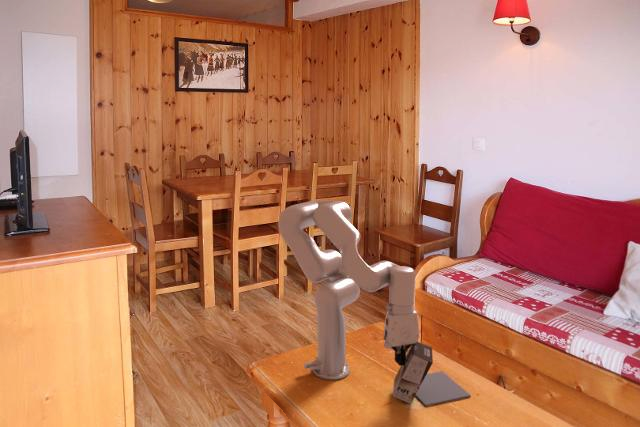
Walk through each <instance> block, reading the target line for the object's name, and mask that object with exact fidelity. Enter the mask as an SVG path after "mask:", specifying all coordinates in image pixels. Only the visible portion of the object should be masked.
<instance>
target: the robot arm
mask: <svg viewBox="0 0 640 427" xmlns="http://www.w3.org/2000/svg"><path fill="white" fill-rule="evenodd" d="M278 216H279V218H278V223H277V224H278V231H279V234H280V237H281V238H282V239H283V242H285V244H286V246H288V248H289V249H290V251H291V253H292V254H293V256H294V258H295V260H296V262H297V264H298V265H299V267H300V268H301V271H302V272H303V274H304V276H305V278H306V279H307V280H308V282H310V283H313V284H315V283H316V284H317V283H320V282H323V281H326V280H328V279H329V280H330V281H328V282H326V283H324V284H323V285H321V286H320V287H319V288H317V290H316V292H315V294H314V303H315V308H316V316H317V319H316V320H317V356H316V357H314V360H312V361H309V362H304V363H303V368H304V369H309V370H310V371H311V372H312V371H313V374H314V375H315V376H317V377H318V378H321V379H324V380H335V381H336V380H340V379H344V378H346V377H347V376H348V375H349V374H350V372H351V367H350V365H349V364H348V363H347V362H346V348H347V346H346V345H347V344H346V343H347V342H346V341H347V340H346V338H347V329H346V328H347V322H346V317H345V314H344V313H343V308H345V307H347V306H348V305H350V304H352V303H354V302H355V301H357V299H359V296H360V293H361V290H360V289H362V290H363V291H365V292H367V293H368V292H369V293H374V292H376V291H378V290H381V289H383V288H385V287H388V286H389V292H388V293H389V294H388V295H389V296H388V297H389V298H388V300H389V301H388V304H387V305H385V311H387V312H386V315H385V321H384V327H383V341H384V343H383V344H384V345H383V346H384V348H385V349H387V350H393V351H394V362H395V363H396V364H397V365H398V366H400V367H401V366H402V365H405V361H406V355H407V352H408V350H409V348H410V346H411V345H413V344H414V343H417V342H419V340H420V326H419V318H418V312H417V310H415V298H416V296H415V295H416V271H415V270H414V269H413V268H412V267H410V266H405V265H401V266H400V265H398V264H396V263H393V262H391V261H389V260H380V261H379V262H376V263H374V264H371V265H368V264H367V263H366V261H364V259H363V258H362V257H361V255H360V254H359V252H358V247H357V245H358V244H359V242H360V240H361V238H362V237H361V233H360V232H359V231H358V229H356V227H355V226H354V225H353V224H352V223H351V220H352V217H353V212H352V209H351V206H350V205H349V204H348V203H346V202H344V201H341V200H309V201H306V202H301V203H297V204H293V205H290V206H288V207H285V208H284V209H283V210H282V212H280V214H279V215H278ZM313 226H317V227H318V229H319V230H320V231H321V232H322V234H324V235H325V237H327V238H328V239H329V241H330V242H331V243H333V245H334V246H335V247H336V248H337V249H338V251H337V250H335V249H324V250H321V249H320V248H319V247H318V245H317V243H316V241H315V240H314V238H313V237H312V236H311V235H310V234H309V233H307V232H305V231H304V229H306V228H308V227H313Z"/></svg>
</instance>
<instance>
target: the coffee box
mask: <svg viewBox="0 0 640 427" xmlns="http://www.w3.org/2000/svg"><path fill="white" fill-rule="evenodd" d="M433 364H434V361H433V347H432V346H429V345H427V344H425V343H422V342H419V341H418V342H417V343H414V344H413V345H411V346H410V348H409V349H408V352H407V353H406V361H405V365H402V366H400V367H399V369H398V371H397V373H396V375H395V377H394V379H393V387H392V388H393V389H392V396H393V397H394V398H396V399H399V400H401V401H403V402H405V403H407V404H409V405H411V404H412V403H413V401H414V399H415V397H416V396H415V395H416V393H417V391H418V390H419V388H420V386H421V384H422V382H423V380H424V378H425V376H426V375H427V374H429V371H430V370H431V367H432V365H433Z"/></svg>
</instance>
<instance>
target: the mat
mask: <svg viewBox="0 0 640 427" xmlns="http://www.w3.org/2000/svg"><path fill="white" fill-rule="evenodd" d="M415 397H416V398H417V399H418V401H419V402H421V403H422V404H423V405H424V407H430V406H434V405H439V404H444V403H448V402H449V403H450V402H454V401H458V400H462V399H468V398H471V394H470V393H469V392H467V391H466V390H465V389H464V388H463V387H462V386H460V384H458V383H457V382H456V381H455V380H453V379H452V378H451V377H450V376H449V375H448V374H446V373H445V372H444V371H443V370H441V371H436V372H431V373H427V375H426V376H425V378H424V380H423V382H422V384H421V386H420V388H419V390H418V391H417V393H416V395H415Z"/></svg>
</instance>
